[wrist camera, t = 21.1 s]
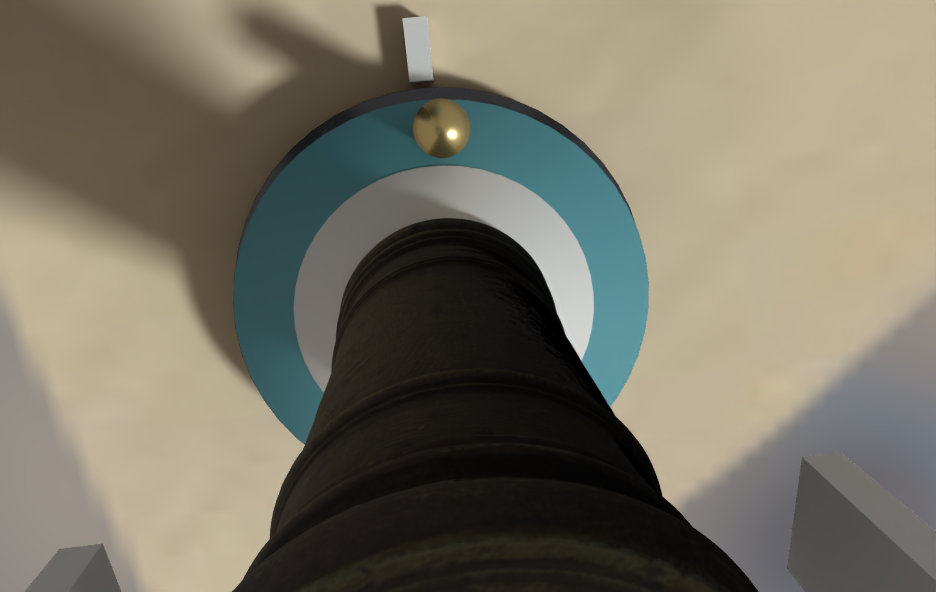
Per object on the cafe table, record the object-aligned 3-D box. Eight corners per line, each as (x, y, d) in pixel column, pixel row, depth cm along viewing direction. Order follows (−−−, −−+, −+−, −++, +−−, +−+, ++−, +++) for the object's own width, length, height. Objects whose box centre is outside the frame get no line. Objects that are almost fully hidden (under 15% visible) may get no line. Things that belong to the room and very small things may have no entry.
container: (346, 413, 25) (183, 1038, 8) (335, 214, 22) (51, 529, 5) (542, 408, 26) (772, 975, 9) (554, 215, 23) (925, 496, 6)
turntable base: (187, 41, 23) (171, 36, 22) (635, 3, 24) (648, -4, 23) (286, 479, 30) (279, 497, 29) (632, 438, 31) (642, 454, 29)
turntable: (624, 460, 29) (673, 544, 23) (273, 484, 28) (235, 579, 22) (650, 93, 23) (722, 87, 18) (212, 106, 22) (139, 103, 17)
